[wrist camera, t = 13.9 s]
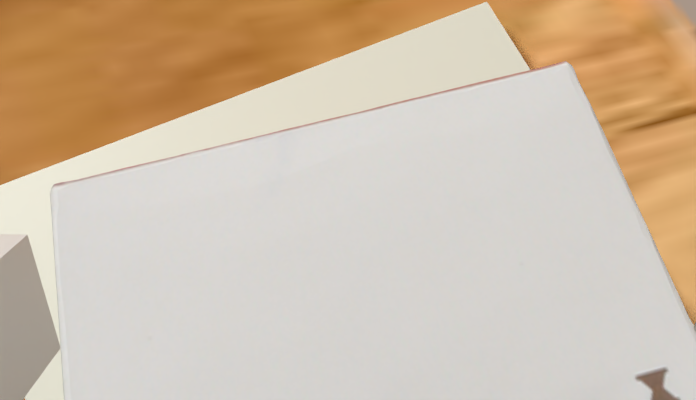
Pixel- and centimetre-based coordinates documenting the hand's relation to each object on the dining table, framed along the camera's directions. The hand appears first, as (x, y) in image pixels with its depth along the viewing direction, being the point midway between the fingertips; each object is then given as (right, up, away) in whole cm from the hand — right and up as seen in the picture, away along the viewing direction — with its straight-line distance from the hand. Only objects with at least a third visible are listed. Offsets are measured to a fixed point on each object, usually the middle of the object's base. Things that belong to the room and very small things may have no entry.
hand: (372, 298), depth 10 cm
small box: (0, -3, +6) cm, 7 cm away
